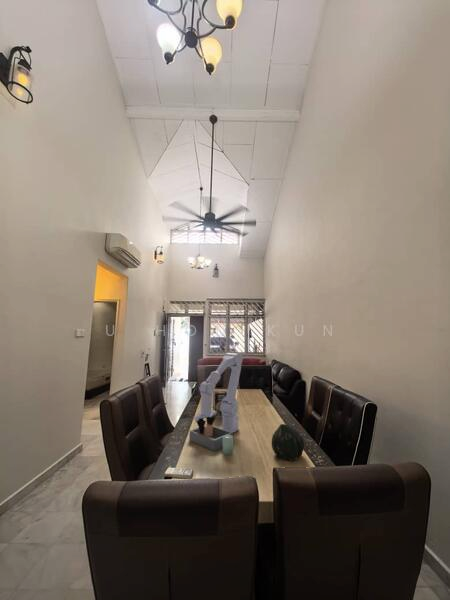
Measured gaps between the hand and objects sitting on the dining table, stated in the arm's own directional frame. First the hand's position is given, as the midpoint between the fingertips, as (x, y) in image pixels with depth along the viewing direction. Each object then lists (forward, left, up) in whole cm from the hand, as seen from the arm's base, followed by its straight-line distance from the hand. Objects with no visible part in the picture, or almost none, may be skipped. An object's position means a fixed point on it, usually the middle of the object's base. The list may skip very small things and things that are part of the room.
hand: (205, 432), depth 138 cm
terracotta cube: (0, 0, -2) cm, 2 cm away
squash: (-13, +41, -4) cm, 43 cm away
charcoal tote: (0, +4, -4) cm, 6 cm away
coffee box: (-33, -19, -4) cm, 38 cm away
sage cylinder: (+3, +18, -4) cm, 19 cm away
